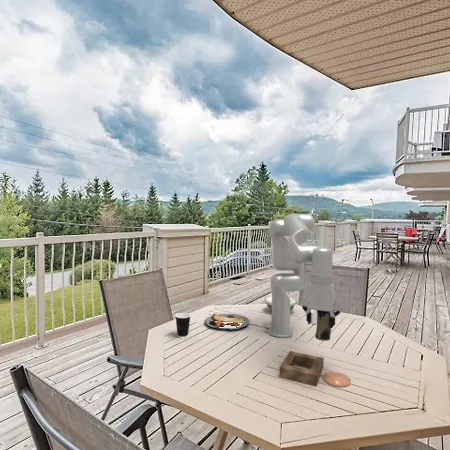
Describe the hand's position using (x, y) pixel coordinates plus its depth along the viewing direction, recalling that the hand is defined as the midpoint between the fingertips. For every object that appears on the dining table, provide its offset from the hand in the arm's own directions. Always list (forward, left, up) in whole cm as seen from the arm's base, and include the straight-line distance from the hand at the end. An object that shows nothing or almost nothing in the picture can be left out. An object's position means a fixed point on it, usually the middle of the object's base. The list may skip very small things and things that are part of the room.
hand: (320, 324), depth 123 cm
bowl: (-36, +71, -20) cm, 82 cm away
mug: (0, 0, -5) cm, 5 cm away
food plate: (-57, +36, -21) cm, 70 cm away
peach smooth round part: (+6, 0, -20) cm, 21 cm away
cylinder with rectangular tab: (-12, +64, -20) cm, 68 cm away
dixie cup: (-69, +9, -20) cm, 72 cm away
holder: (-7, 0, -20) cm, 21 cm away
